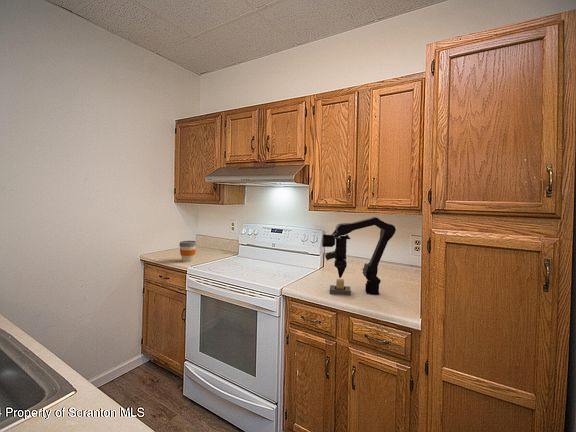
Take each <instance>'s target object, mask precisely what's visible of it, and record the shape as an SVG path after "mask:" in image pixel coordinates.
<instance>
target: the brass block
mask: <svg viewBox="0 0 576 432" xmlns="http://www.w3.org/2000/svg"><path fill="white" fill-rule="evenodd" d="M335 286H336V289H338V290H344V286H345V279H343V278H336V285H335Z"/></svg>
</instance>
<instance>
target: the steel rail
mask: <svg viewBox="0 0 576 432" xmlns="http://www.w3.org/2000/svg"><path fill="white" fill-rule="evenodd" d="M329 295H336V296H337V295H338V296H351V286H347V285H346V286H345V285H344V290H338V289H336V285H333V284H330V285H329Z"/></svg>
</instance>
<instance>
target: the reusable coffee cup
mask: <svg viewBox="0 0 576 432" xmlns="http://www.w3.org/2000/svg"><path fill="white" fill-rule="evenodd" d="M196 246H197V241H196V240H182V241H179V253H180V256H181V261H183V263H191V262H194V261H195V255H196V252H197V247H196Z"/></svg>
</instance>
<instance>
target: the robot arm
mask: <svg viewBox="0 0 576 432" xmlns="http://www.w3.org/2000/svg"><path fill="white" fill-rule="evenodd" d="M372 226H376V227H377V228H379V229H380V231H379V240H378V241H377V244H376V246H375V249H374V251H373V253H372V255H371V258H370V261H369V262H368V263H366V262H365V263H364V266H363V267H362V268H361V270H362V275H363V277H365V278H366V283H365V290H364V291H365V292H366V294H367V295H377V296H380V284H381V282H382V281H381V278H379V277H378V272H379V263H380V261H381V258H382V256H383V254H384V252H385V250H386V247H387V244H388V242H389V241H390V240H391V239H392V238H393V236H394V235H395V234H396V231H397V230H396V227H395V226H394V225H393V224H392V223H387V222H384V221H383V220H381V219H380V218H379V217H376V216H373V217H369V218H367V219H362V220H359V221H354V222H346V223H345V222H343V223H338V224H336V226H335V230H334V231H332V234H325V233H323V234H322V239H321V247H322V248H333V247H335V249H334V250H333V251H328V252H326V253H324V256H325V259H326V261H330V260H331V259H334V263H333V264H334V267H335V268H336V269H337V273H338V279H342V277H343V275H344V272H345V270H346V269H347V267H348V265H347V264H348V263H347V262H348V261H347V242H348V240H351V237H350V236H349V235H348V234H350V233H352V232H354V231H356V230H361V229H364V228H369V227H372Z"/></svg>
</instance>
